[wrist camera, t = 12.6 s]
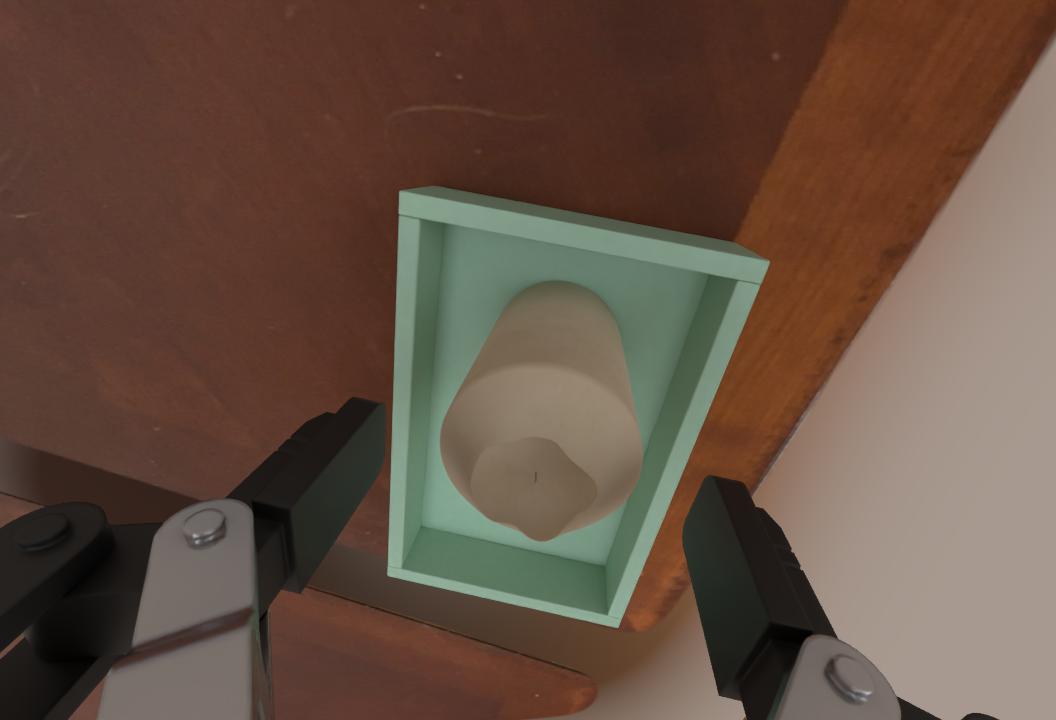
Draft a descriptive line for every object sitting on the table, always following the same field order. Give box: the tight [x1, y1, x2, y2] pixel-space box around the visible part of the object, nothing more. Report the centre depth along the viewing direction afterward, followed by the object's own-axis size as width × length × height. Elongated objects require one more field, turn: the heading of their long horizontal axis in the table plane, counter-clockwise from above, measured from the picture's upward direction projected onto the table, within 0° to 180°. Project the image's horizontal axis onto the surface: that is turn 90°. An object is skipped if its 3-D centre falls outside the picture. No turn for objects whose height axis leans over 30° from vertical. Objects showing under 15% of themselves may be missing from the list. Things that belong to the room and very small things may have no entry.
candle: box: [440, 281, 643, 542], centre depth 15 cm, size 6×6×10 cm
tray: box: [387, 186, 770, 628], centre depth 20 cm, size 20×13×4 cm, turn 171°
